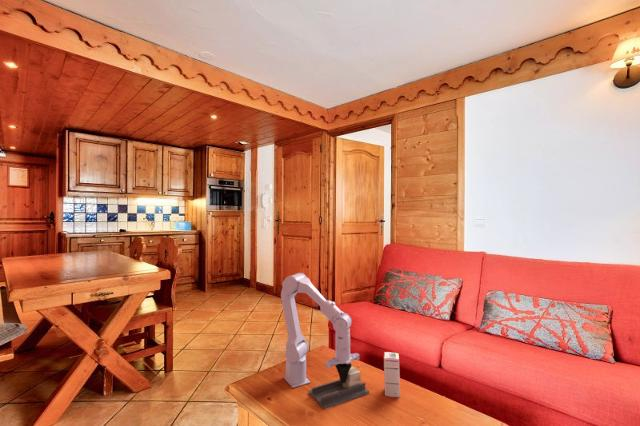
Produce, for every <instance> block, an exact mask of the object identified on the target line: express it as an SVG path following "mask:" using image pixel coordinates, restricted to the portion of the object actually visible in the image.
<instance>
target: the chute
mask: <svg viewBox="0 0 640 426" xmlns="http://www.w3.org/2000/svg"><path fill="white" fill-rule="evenodd" d="M308 394H309V396H311V397H312V399H314V401H316V402H317V404H318V405H319V407H321V408H322V409H324V410H326V409H330V408H333V407H335V406H338V405H341V404H344V403H346V402H349V401H352V400H355V399H358V398H360V397H363V396H364V397H365V396H367V395H369V394H370V390H369V389H367V388H366V382H361V383H360V384H357V385H354V386H351V387H348V388H346V387H345V386H344V385H343V383H342V382H341V381H340V378H339V379H336V380H333V381H329V382H327V383H323V384H320V385H316V386H314V387H311V389H309V390H308Z"/></svg>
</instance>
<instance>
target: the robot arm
mask: <svg viewBox="0 0 640 426" xmlns="http://www.w3.org/2000/svg"><path fill="white" fill-rule="evenodd" d="M281 285H282V288H281V292H280V299H281V304H282V309H283V310H282V311H283V315H284V319H285V320H284V321H285V325H286V331H287V337H288V339H287V341H286V343H285V349H286V350H285V358H286V361H285V376H284V375H283V378H284V380H285V381H286V383H288V384H289V385H290V386H291V388H297V387H301V386H304V385H307V384H310V383H311V381H310V380H309V379H308V377H307V354H308V352H309V351H310V350H309V348H310V347H309V344H308V342H307V341H306V337H305V335H304V334H302V331H301V326H300V321H299V316H298V315H299V314H298V310H297V306H296V305H297V304H296V299H295V296H296V295H297V294H298V293H301V294H306V295H308V297H309V298H311V299H312V300H313V301H314V302H315V303H316V304H317V305H318V306H319V307H320V312H321V313H322V314H323V315H324V316H325V318H327V319H328V321H330V322H331V324H332V327H333V329H334V331H335V356H334V357H332V358H330V359H328V360H326V361H325V367H326V368H327V369H331V367H334V366H335V368H336V370H337V373H338V375H339V379H340V381H341V382H342V383H346V379H347V375H348V372H349V370H350V368H351V367H353V366H352V363H351V362H352V361H356V360H357V361H359V360H360V354H359V353H357V352H355V353H351V326H352V323H353V319H352V317H351V315H350V314H348V313H346V312H344V311H342V310H341V309H340V308H339V307H338V306H337V305H336V302H335V301H332V300H330V299H329V300H328V299H326V298H325V297H324V296H323V295H322V293H320V291H319V290H318V289H317V288H316V287H315V286H314V285H313V283H312V282H311V280H310V278H309V277H308V276H307V275H305V274H304V273H303V272H297V273H295V274H292V275H289V276H287V277H285V279H284V280H283V281H282V283H281Z"/></svg>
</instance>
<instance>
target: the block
mask: <svg viewBox="0 0 640 426" xmlns="http://www.w3.org/2000/svg"><path fill="white" fill-rule="evenodd" d="M361 379H362V378H361V371H360V370H358V369H357V368H356V367H355V366H351V368H350V370H349V372H348V375H347V379H346V383H343V385H344V386H345V387H346V388H348V387H351V386H354V385H357V384H360V383H362V382H361Z"/></svg>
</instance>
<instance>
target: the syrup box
mask: <svg viewBox="0 0 640 426" xmlns="http://www.w3.org/2000/svg"><path fill="white" fill-rule="evenodd" d="M383 353H384V354H383V369H384V370H383V372H384V373H383V374H384V375H383V377H384V378H383V379H384V396H385V397H389V398H390V397H391V398H400V397H401V381H400V380H401V378H400V377H401V375H400V374H401V373H400V371H401V370H400V356H399V355H400V353H398V352H393V351H391V352H390V351H386V352H385V351H384V352H383Z"/></svg>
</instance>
